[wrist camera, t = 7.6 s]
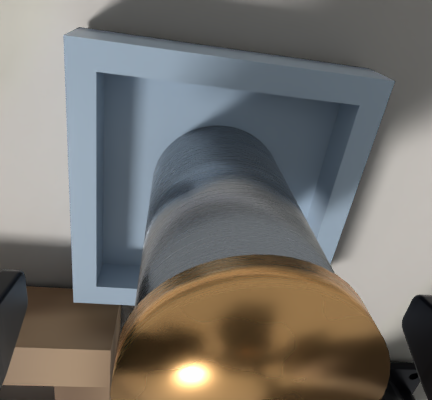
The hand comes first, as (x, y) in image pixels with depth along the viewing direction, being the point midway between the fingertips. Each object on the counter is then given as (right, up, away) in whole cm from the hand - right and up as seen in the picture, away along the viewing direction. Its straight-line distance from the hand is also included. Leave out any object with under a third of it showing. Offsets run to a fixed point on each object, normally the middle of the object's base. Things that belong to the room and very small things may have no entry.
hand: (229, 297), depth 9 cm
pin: (0, +3, +5) cm, 6 cm away
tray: (0, +3, +5) cm, 6 cm away
